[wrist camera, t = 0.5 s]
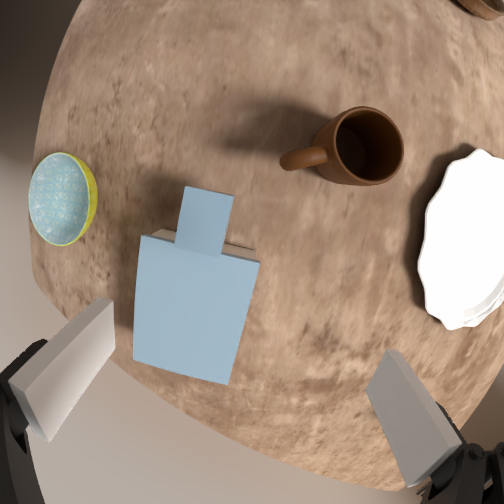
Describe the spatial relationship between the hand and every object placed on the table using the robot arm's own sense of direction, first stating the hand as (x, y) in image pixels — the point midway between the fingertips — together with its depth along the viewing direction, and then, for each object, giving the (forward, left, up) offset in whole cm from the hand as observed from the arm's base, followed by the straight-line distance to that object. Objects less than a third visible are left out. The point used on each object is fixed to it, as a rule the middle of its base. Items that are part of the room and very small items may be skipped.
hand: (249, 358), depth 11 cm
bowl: (-1, -24, -22) cm, 33 cm away
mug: (-12, +6, -22) cm, 26 cm away
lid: (+6, -5, -18) cm, 20 cm away
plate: (-9, +36, -23) cm, 43 cm away
